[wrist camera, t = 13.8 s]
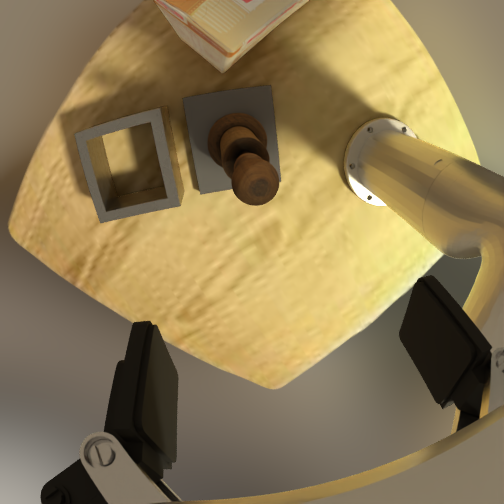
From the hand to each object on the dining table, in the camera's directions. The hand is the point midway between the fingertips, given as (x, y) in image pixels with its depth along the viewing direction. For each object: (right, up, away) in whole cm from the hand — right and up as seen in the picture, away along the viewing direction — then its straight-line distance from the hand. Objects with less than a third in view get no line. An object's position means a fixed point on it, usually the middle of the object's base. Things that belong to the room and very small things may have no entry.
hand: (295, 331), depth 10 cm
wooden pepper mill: (-3, +16, +23) cm, 28 cm away
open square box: (-15, +14, +23) cm, 31 cm away
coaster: (-4, +16, +24) cm, 29 cm away
